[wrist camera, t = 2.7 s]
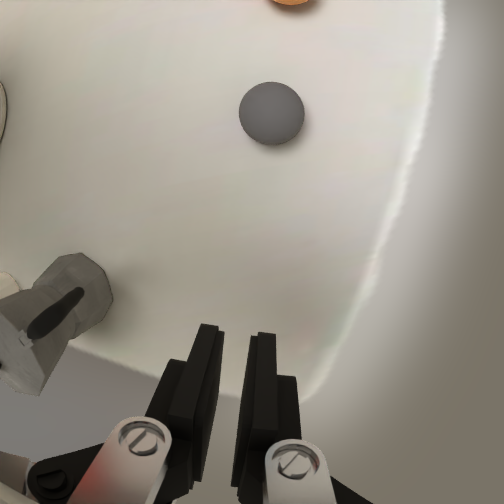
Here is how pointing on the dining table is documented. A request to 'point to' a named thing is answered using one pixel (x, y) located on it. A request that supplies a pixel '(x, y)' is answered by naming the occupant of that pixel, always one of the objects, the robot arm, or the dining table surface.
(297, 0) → the object ball
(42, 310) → the coffeepot
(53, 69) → the dining table surface
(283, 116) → the gray sphere
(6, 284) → the shot glass
